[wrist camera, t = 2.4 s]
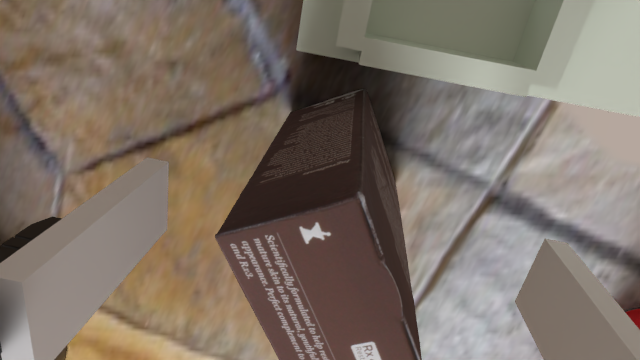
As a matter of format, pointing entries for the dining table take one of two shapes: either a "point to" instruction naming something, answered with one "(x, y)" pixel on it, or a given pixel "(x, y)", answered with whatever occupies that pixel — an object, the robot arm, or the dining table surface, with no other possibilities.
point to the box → (325, 240)
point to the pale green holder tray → (491, 44)
